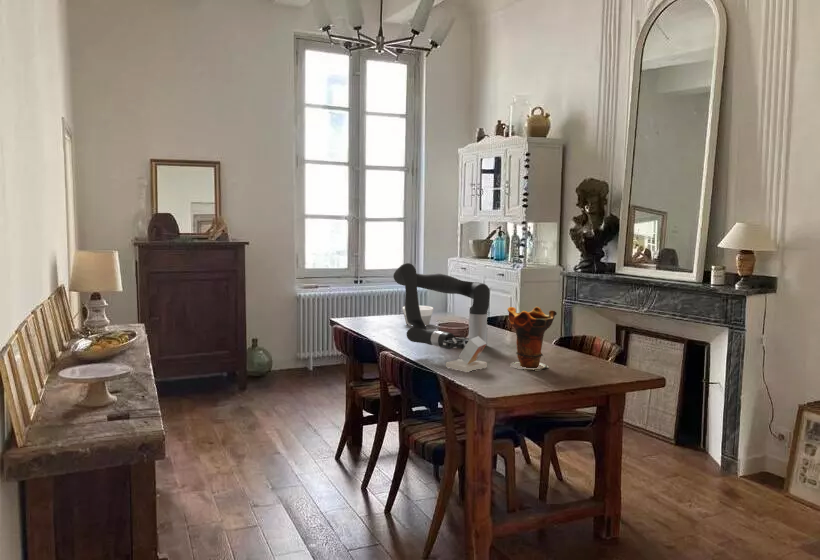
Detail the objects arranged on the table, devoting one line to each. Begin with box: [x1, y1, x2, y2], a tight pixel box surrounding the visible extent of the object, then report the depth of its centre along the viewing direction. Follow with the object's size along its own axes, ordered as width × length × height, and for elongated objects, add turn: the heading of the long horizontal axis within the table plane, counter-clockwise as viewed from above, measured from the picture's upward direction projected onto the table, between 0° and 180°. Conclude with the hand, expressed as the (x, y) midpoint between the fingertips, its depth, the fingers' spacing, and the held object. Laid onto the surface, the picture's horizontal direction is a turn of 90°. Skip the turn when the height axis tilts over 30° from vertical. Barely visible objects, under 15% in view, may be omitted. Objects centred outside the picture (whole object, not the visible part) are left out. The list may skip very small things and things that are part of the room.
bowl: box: [402, 304, 434, 326], centre depth 403 cm, size 19×19×11 cm
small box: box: [458, 336, 488, 364], centre depth 292 cm, size 8×6×10 cm
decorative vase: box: [507, 306, 558, 372], centre depth 300 cm, size 21×23×28 cm
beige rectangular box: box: [445, 358, 488, 373], centre depth 295 cm, size 14×12×2 cm
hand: (469, 345), depth 293 cm, fingers closed on small box, 8 cm apart
